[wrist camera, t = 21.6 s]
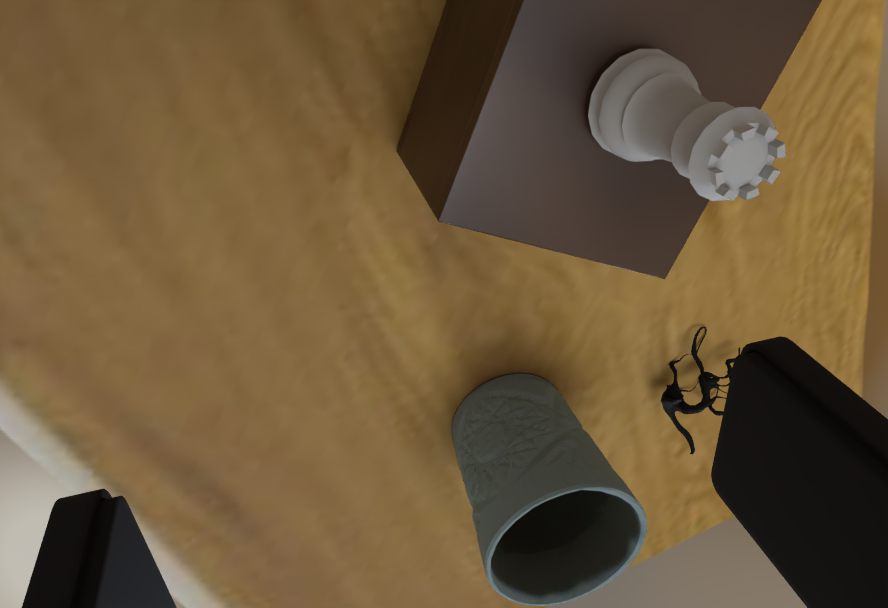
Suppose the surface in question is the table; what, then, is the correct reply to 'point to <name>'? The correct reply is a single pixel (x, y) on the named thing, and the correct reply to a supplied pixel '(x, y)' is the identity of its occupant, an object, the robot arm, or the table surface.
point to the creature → (674, 397)
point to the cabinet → (576, 117)
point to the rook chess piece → (682, 126)
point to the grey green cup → (542, 494)
